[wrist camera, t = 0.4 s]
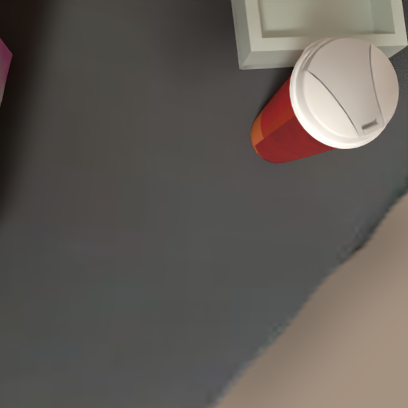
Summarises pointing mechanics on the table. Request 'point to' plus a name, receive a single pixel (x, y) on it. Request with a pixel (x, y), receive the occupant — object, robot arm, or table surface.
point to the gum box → (4, 66)
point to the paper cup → (328, 101)
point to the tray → (312, 27)
